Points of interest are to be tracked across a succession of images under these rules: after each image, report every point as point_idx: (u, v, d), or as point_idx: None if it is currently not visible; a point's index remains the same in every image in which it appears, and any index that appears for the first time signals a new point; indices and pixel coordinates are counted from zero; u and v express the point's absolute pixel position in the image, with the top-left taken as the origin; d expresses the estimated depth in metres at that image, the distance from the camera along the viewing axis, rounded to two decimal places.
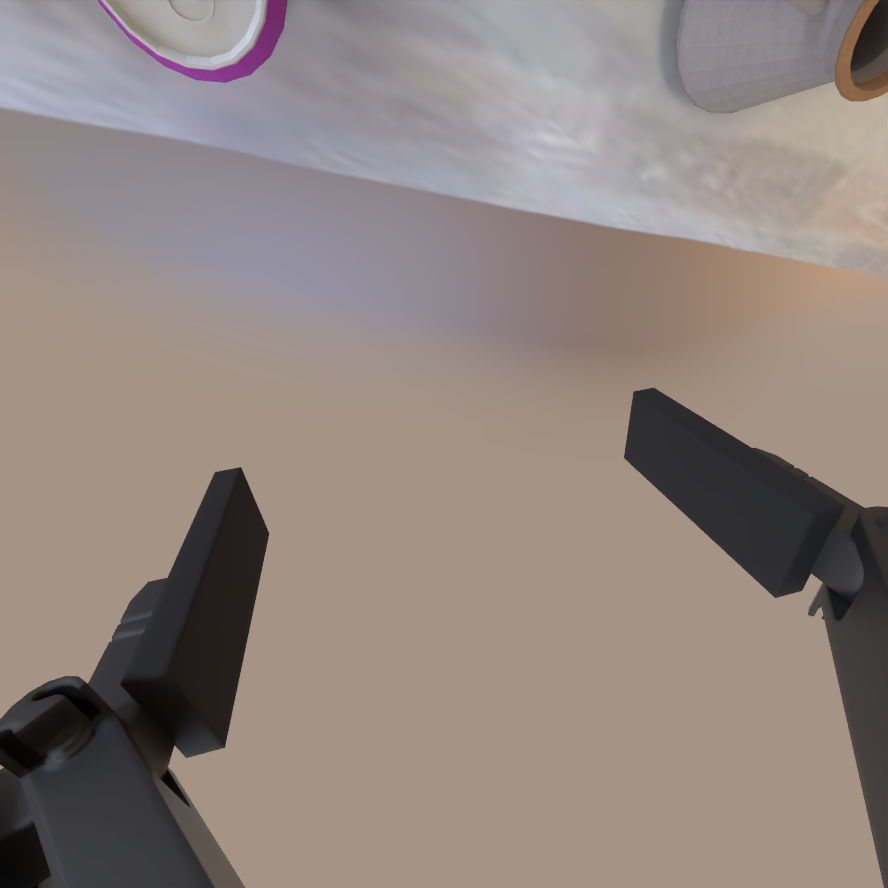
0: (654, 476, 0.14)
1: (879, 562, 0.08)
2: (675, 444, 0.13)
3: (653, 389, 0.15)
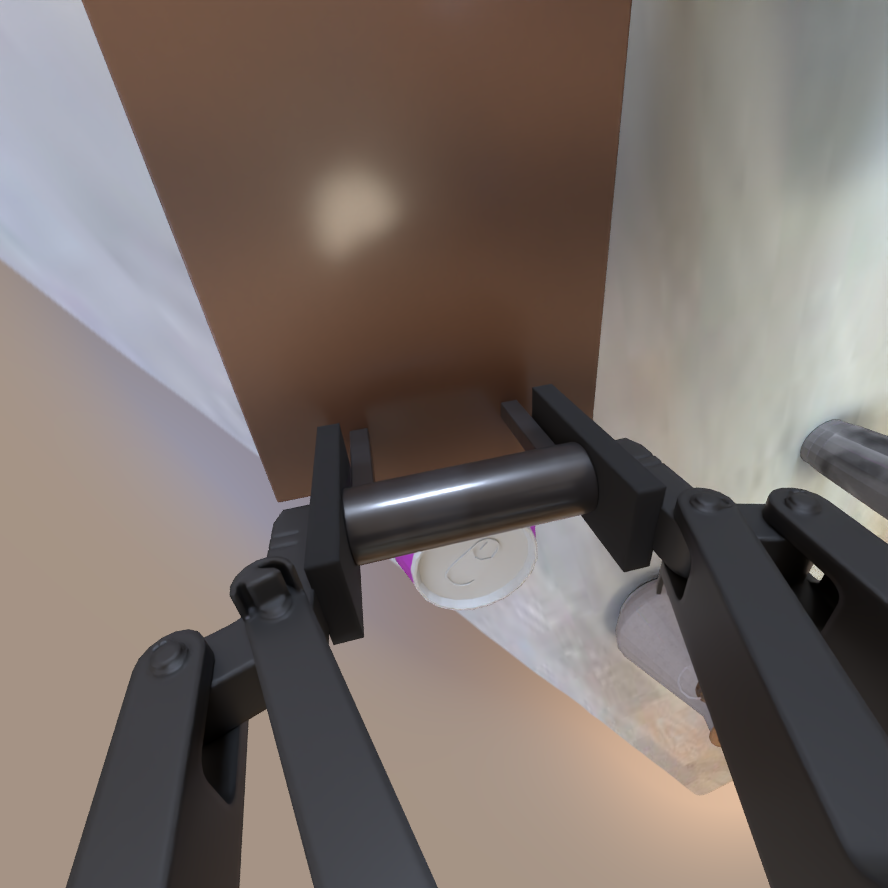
0: None
1: (699, 543, 0.09)
2: (559, 436, 0.14)
3: (551, 385, 0.16)
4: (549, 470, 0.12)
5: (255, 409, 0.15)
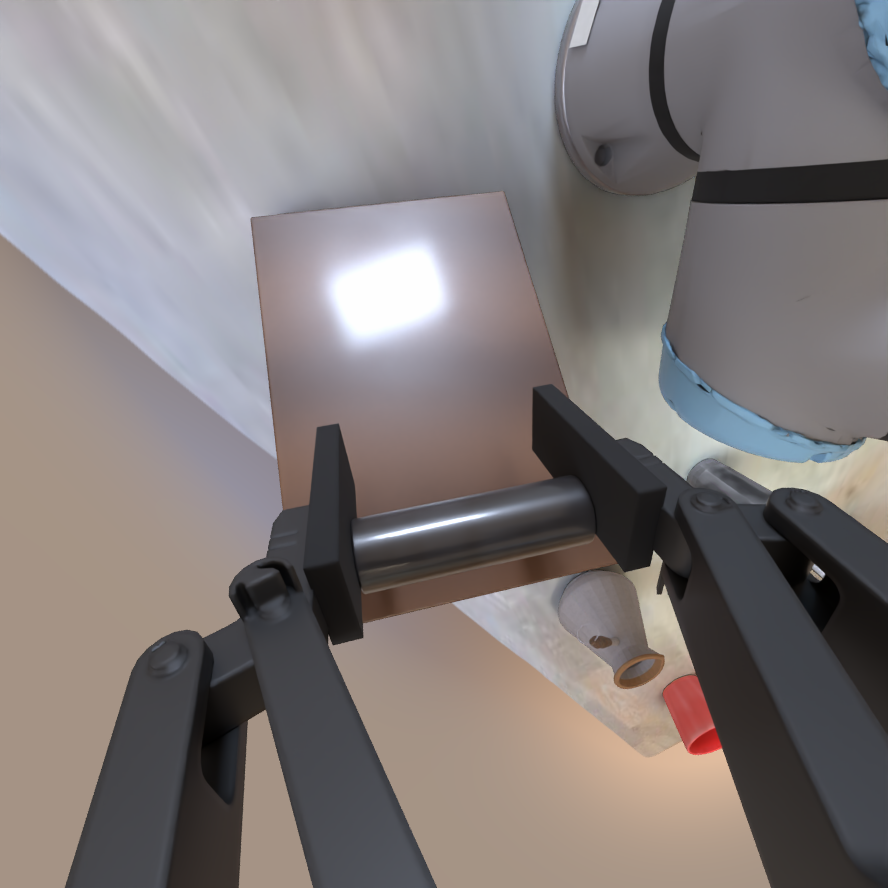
0: (550, 466, 0.15)
1: (700, 543, 0.09)
2: (559, 436, 0.14)
3: (551, 385, 0.16)
4: (538, 484, 0.13)
5: None
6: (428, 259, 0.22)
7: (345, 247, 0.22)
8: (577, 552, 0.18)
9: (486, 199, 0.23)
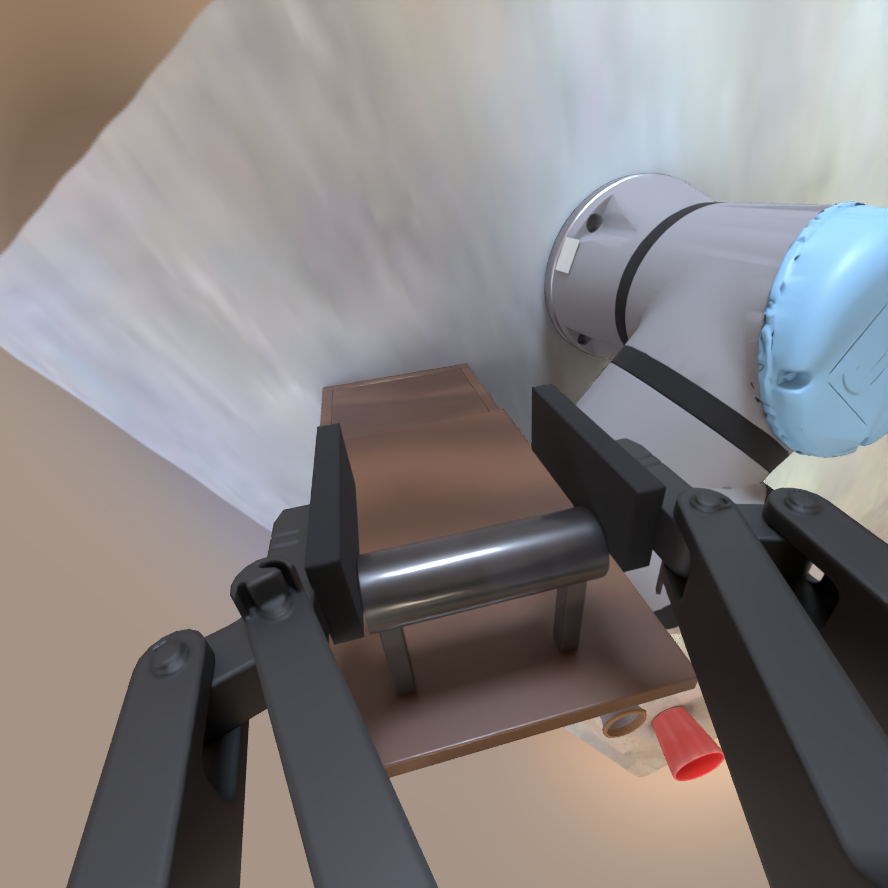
0: (549, 466, 0.15)
1: (699, 543, 0.09)
2: (558, 436, 0.14)
3: (550, 385, 0.16)
4: None
5: None
6: (448, 449, 0.27)
7: (384, 450, 0.28)
8: (639, 666, 0.15)
9: (490, 414, 0.31)
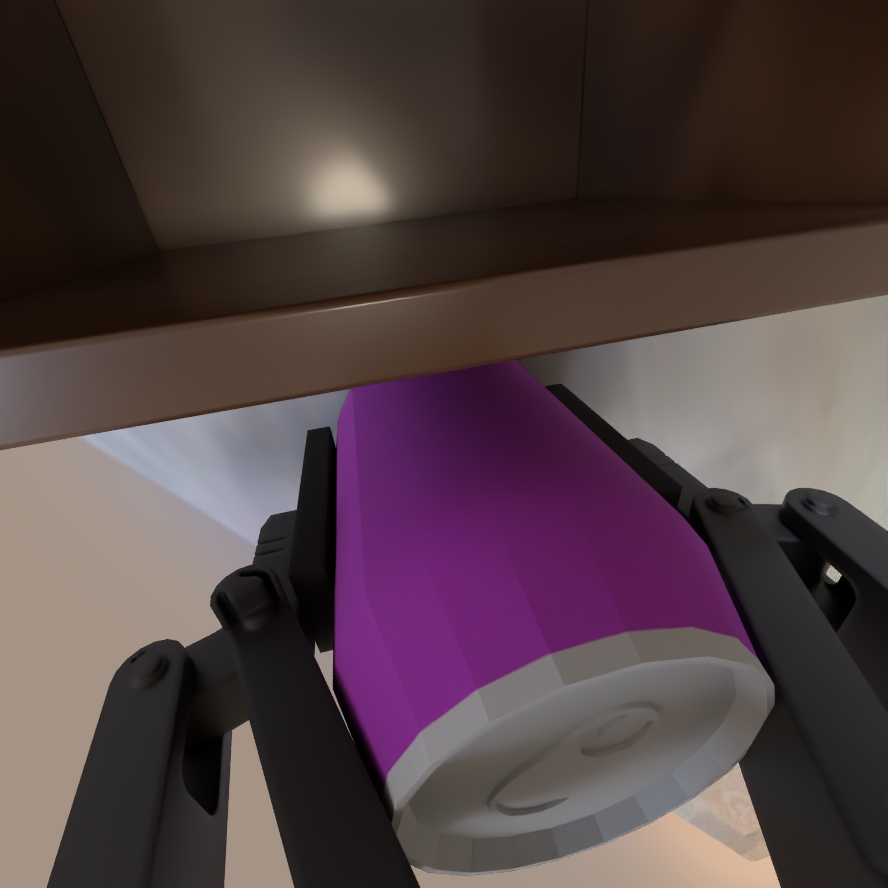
0: None
1: (715, 543, 0.09)
2: None
3: (560, 385, 0.16)
4: None
5: None
6: None
7: None
8: None
9: None
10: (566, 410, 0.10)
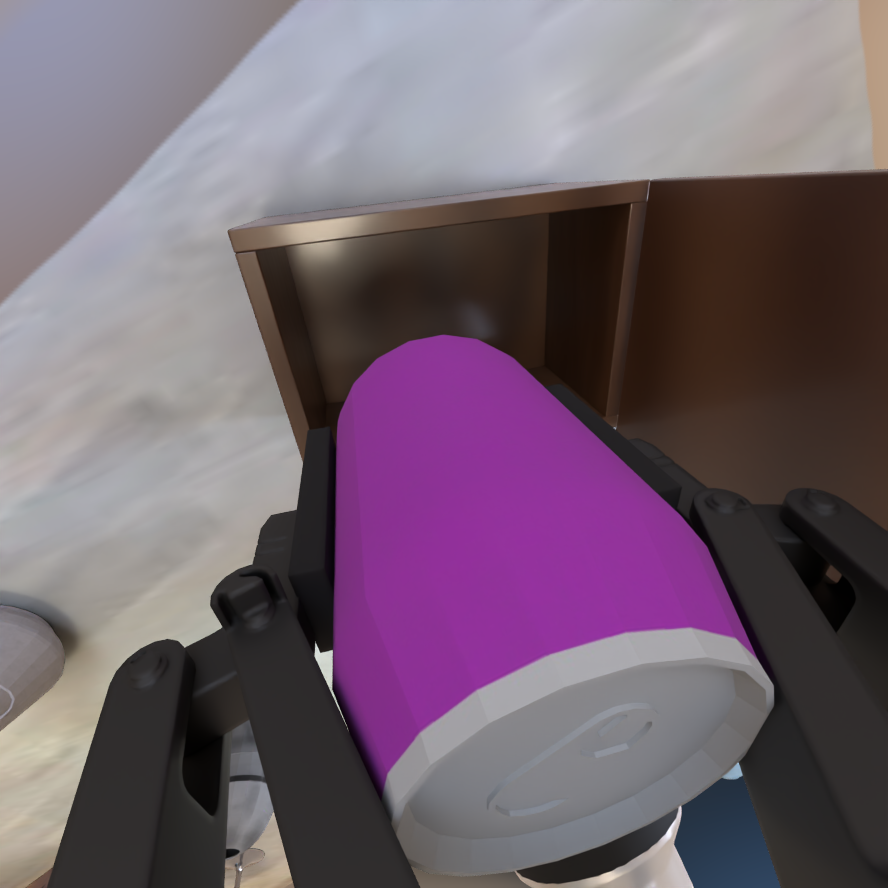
0: None
1: (715, 543, 0.09)
2: None
3: (560, 385, 0.16)
4: None
5: None
6: None
7: None
8: None
9: None
10: (566, 410, 0.10)
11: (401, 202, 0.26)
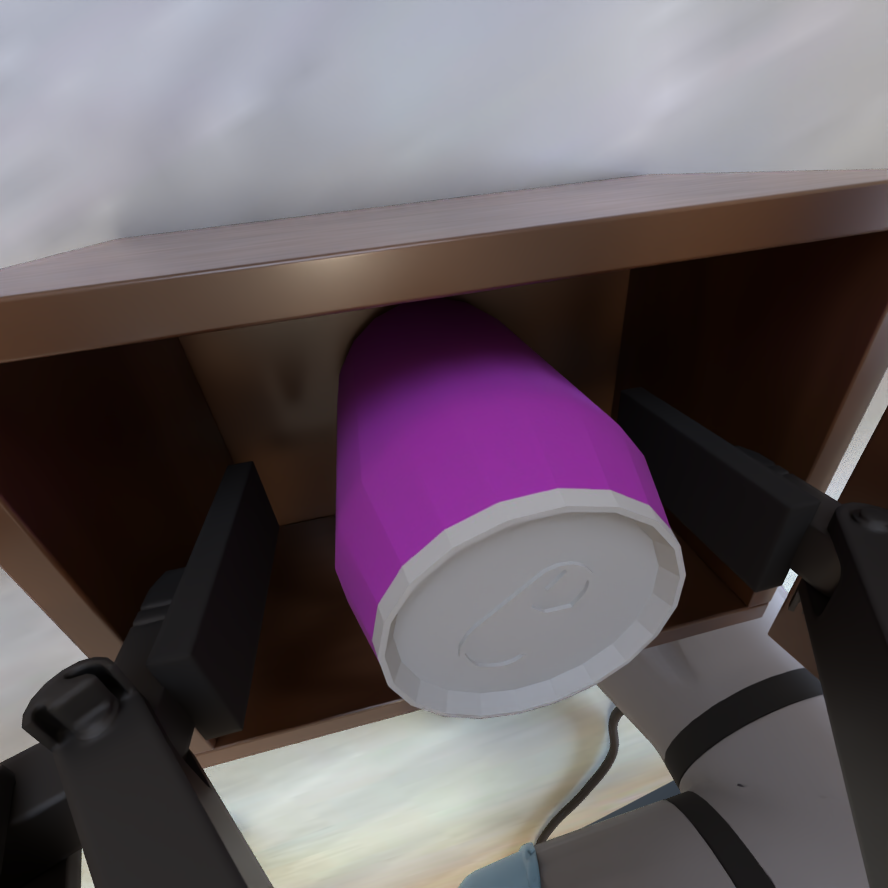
0: None
1: (855, 557, 0.08)
2: (660, 443, 0.13)
3: (639, 388, 0.15)
4: None
5: None
6: None
7: None
8: None
9: None
10: (537, 356, 0.12)
11: (372, 212, 0.13)
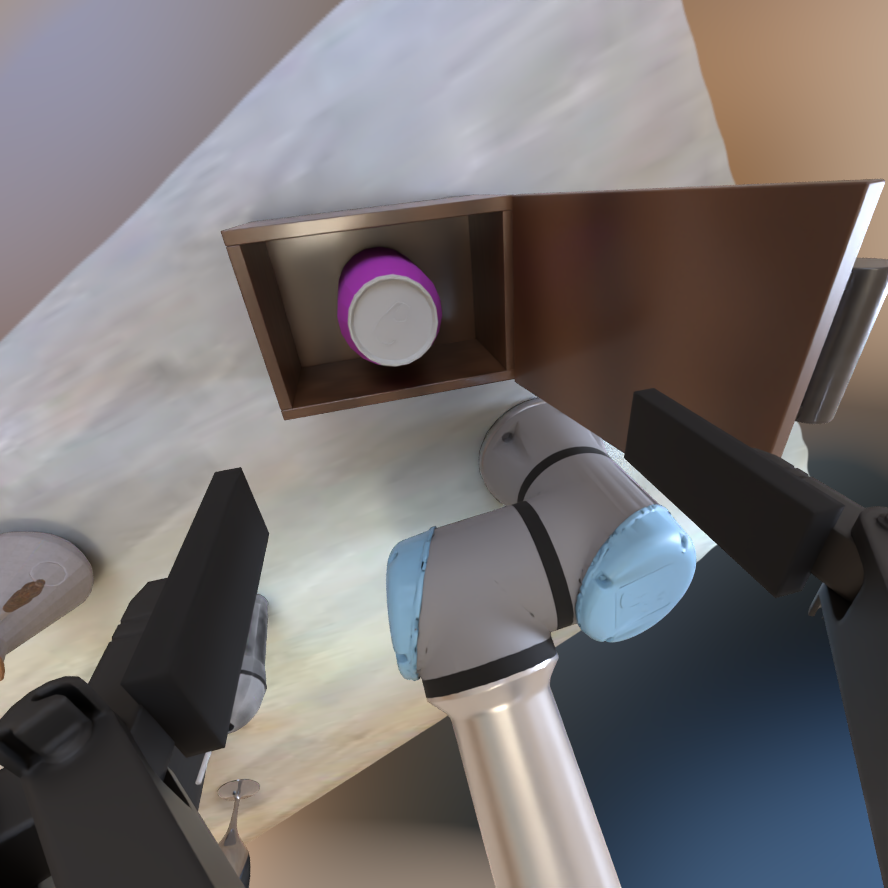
0: (654, 476, 0.14)
1: (879, 562, 0.08)
2: (675, 444, 0.13)
3: (653, 389, 0.15)
4: None
5: None
6: None
7: None
8: None
9: None
10: (410, 261, 0.33)
11: (351, 210, 0.34)
